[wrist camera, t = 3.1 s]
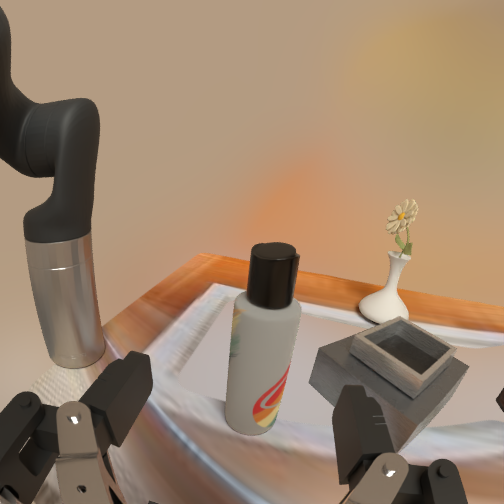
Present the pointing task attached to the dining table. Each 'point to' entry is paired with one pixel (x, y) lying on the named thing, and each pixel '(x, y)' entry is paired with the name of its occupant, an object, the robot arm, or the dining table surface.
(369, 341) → the gray square holder
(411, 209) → the flower in vase
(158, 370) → the dining table surface
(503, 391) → the bronze sculpture
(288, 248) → the lotion bottle
